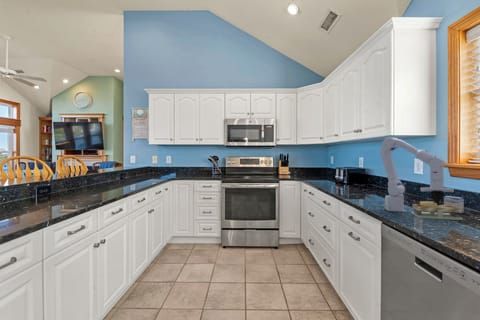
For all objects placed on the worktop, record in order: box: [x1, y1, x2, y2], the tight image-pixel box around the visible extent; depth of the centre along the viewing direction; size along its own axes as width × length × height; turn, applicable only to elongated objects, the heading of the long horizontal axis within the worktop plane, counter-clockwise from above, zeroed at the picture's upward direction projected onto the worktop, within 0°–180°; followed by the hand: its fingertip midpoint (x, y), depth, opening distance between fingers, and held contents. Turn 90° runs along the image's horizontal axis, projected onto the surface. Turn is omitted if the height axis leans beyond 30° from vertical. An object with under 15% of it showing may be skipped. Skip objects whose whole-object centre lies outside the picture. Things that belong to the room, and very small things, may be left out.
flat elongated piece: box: [412, 204, 461, 213], centre depth 135 cm, size 19×9×2 cm, turn 73°
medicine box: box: [443, 195, 465, 214], centre depth 145 cm, size 8×4×9 cm, turn 27°
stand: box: [410, 208, 464, 221], centre depth 135 cm, size 20×11×5 cm, turn 73°
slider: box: [419, 200, 437, 207], centre depth 136 cm, size 6×5×3 cm
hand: (436, 205), depth 135 cm, fingers closed
